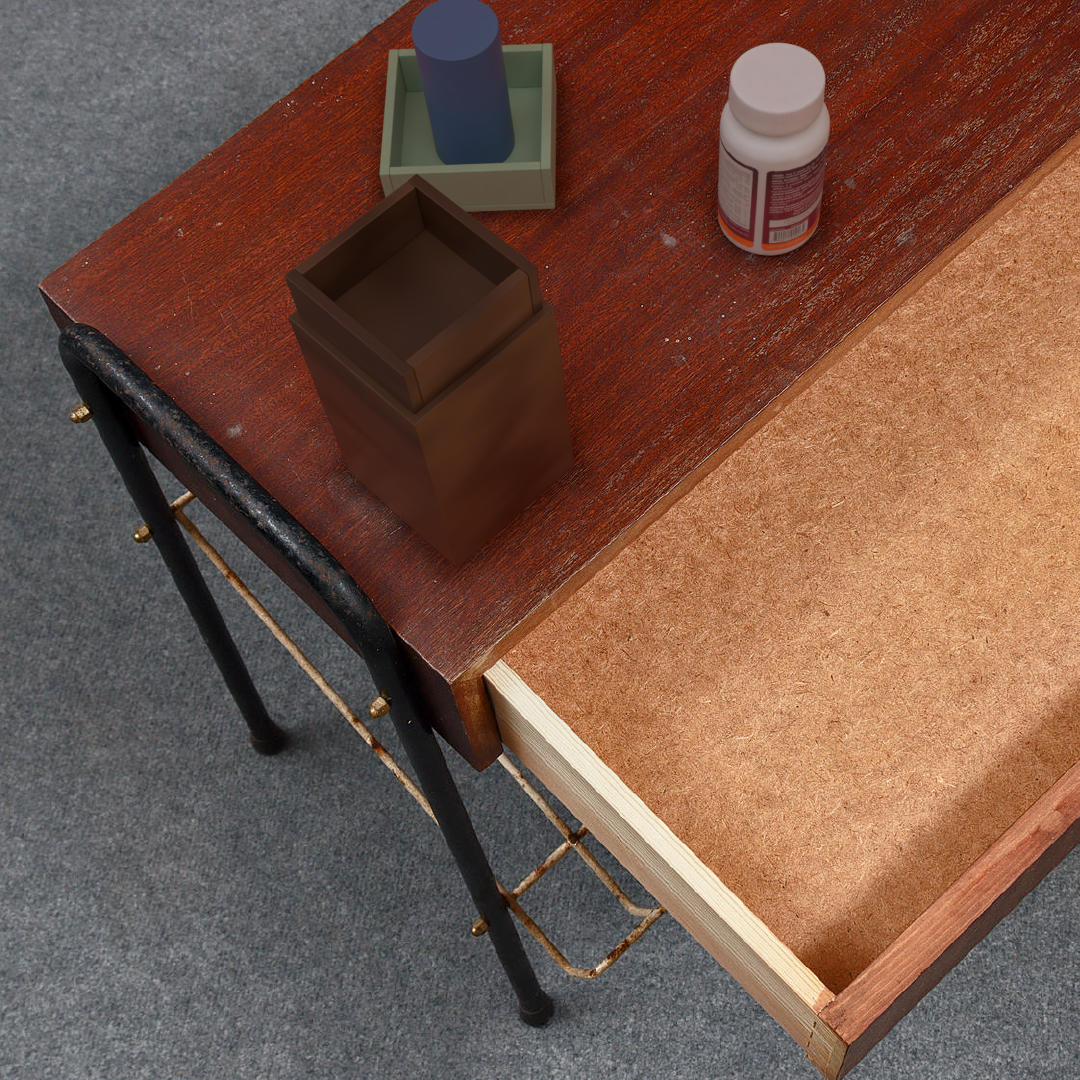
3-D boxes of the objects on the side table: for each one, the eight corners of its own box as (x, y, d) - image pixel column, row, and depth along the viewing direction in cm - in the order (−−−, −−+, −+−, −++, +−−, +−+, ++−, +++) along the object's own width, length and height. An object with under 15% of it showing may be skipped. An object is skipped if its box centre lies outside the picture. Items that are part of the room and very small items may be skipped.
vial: (433, 175, 90) (409, 61, 82) (437, 114, 92) (413, -2, 84) (514, 172, 90) (497, 58, 82) (515, 111, 92) (499, -6, 84)
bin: (389, 214, 89) (379, 174, 86) (398, 91, 94) (389, 49, 91) (555, 209, 89) (550, 168, 86) (556, 85, 94) (552, 42, 90)
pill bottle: (830, 193, 89) (849, 47, 79) (802, 270, 86) (819, 129, 76) (733, 171, 90) (740, 24, 80) (703, 246, 87) (706, 104, 77)
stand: (457, 569, 78) (402, 387, 63) (348, 471, 81) (271, 275, 66) (575, 465, 81) (550, 266, 66) (465, 374, 84) (417, 163, 69)
